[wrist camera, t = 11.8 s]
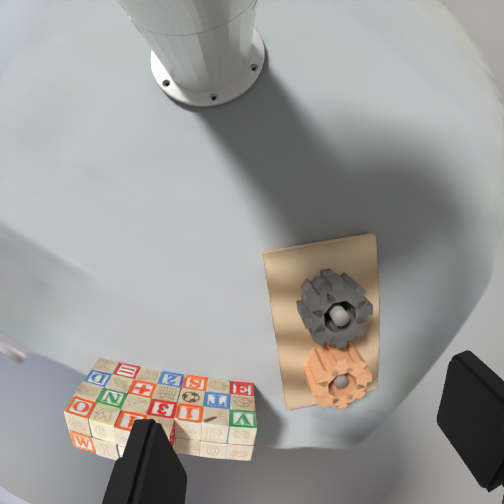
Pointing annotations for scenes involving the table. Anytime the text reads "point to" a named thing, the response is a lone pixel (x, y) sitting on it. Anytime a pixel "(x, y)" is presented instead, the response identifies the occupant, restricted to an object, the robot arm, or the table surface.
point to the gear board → (290, 319)
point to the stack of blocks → (162, 411)
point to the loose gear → (329, 366)
